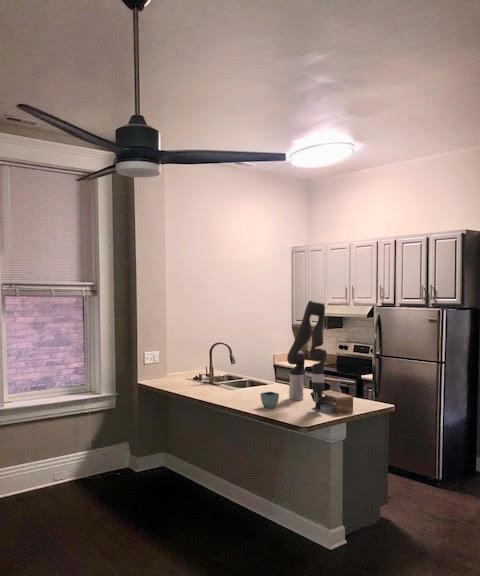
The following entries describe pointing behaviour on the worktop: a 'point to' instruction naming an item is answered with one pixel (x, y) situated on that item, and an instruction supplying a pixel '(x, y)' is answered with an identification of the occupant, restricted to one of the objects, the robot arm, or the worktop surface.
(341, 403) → the brown cardboard box
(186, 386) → the worktop surface
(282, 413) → the worktop surface
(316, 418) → the worktop surface
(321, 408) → the panel
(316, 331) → the robot arm
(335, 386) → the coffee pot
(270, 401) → the flower pot
